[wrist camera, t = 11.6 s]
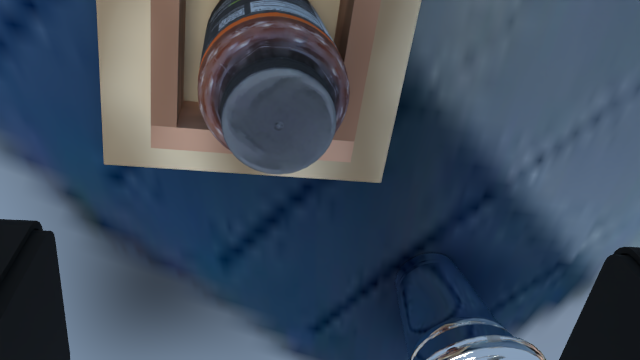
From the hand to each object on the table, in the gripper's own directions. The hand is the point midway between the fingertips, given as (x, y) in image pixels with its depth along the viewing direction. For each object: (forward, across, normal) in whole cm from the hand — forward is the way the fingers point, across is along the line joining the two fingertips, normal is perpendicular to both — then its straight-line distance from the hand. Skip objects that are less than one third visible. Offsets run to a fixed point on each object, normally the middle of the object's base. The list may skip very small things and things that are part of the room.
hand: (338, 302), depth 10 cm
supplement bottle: (+22, +1, +2) cm, 22 cm away
